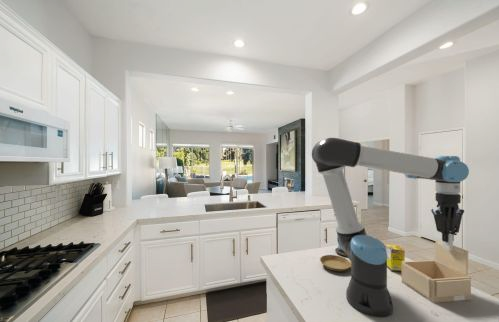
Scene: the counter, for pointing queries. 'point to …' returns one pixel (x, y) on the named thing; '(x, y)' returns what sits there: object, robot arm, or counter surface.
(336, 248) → the brown slatted round stand
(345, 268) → the plant saucer
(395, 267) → the supplement box
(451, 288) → the carton
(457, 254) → the flap
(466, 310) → the counter surface
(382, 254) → the robot arm
